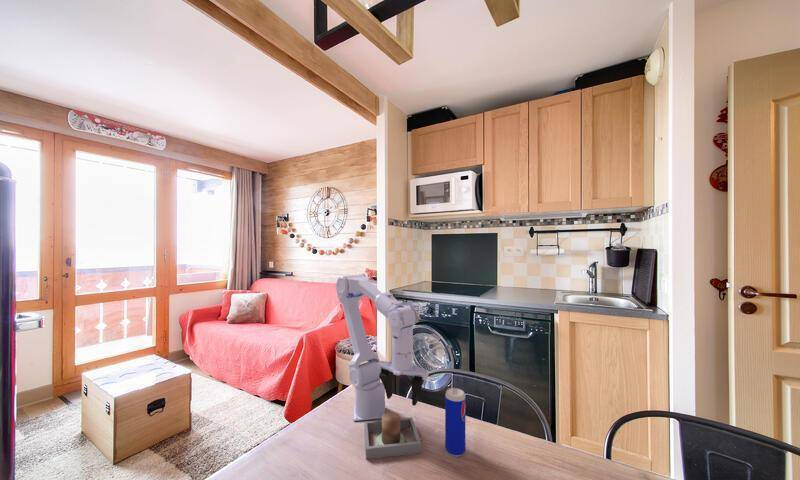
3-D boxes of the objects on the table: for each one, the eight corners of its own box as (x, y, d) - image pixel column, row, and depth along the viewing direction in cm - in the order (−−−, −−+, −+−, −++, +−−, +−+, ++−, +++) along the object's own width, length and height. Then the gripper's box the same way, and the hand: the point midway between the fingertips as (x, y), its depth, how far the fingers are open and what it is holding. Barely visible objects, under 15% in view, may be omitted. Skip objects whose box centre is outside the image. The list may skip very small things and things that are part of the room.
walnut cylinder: (398, 432, 80) (398, 411, 80) (401, 445, 75) (401, 422, 75) (380, 434, 79) (380, 413, 79) (383, 447, 74) (383, 424, 75)
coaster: (402, 430, 82) (402, 429, 82) (407, 449, 74) (407, 448, 74) (375, 433, 81) (375, 431, 81) (378, 452, 73) (378, 451, 73)
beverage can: (465, 459, 71) (465, 398, 71) (444, 456, 72) (444, 396, 72) (465, 445, 76) (465, 388, 76) (445, 442, 77) (445, 386, 77)
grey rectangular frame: (412, 425, 84) (412, 417, 84) (420, 452, 73) (420, 443, 73) (364, 430, 82) (364, 421, 82) (365, 459, 71) (365, 449, 71)
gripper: (372, 351, 78) (371, 401, 78) (421, 360, 72) (421, 414, 72) (384, 343, 85) (384, 389, 84) (430, 351, 79) (430, 400, 78)
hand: (402, 400), depth 79 cm, fingers open, 7 cm apart
